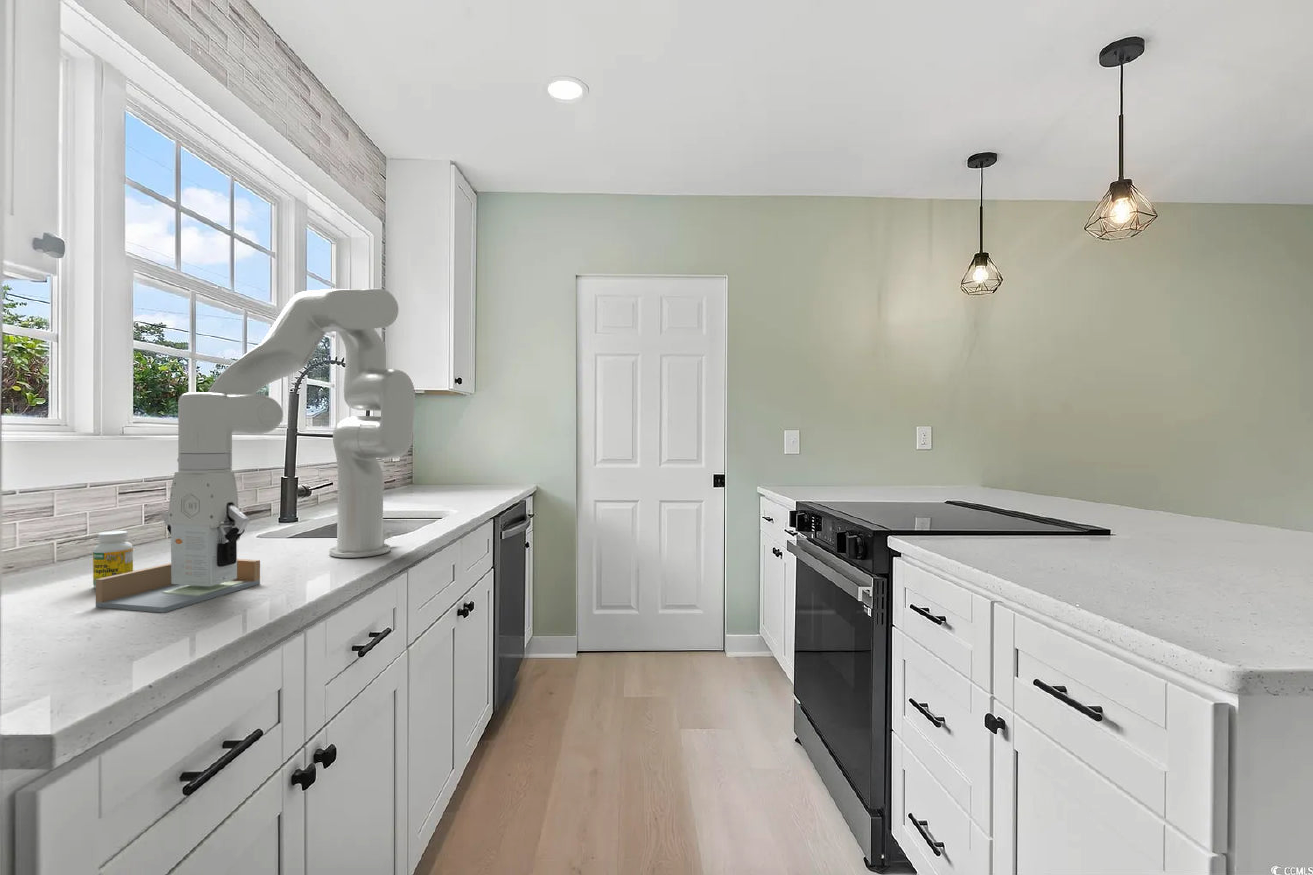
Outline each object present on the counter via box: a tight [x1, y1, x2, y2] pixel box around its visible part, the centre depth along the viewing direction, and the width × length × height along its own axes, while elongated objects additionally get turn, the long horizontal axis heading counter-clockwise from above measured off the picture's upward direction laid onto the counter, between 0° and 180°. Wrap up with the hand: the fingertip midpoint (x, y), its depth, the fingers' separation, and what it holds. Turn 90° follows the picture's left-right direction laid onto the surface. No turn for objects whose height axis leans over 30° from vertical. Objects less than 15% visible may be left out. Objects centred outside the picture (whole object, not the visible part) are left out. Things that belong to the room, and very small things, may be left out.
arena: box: [95, 558, 261, 613], centre depth 104 cm, size 18×13×4 cm
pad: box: [162, 581, 244, 596], centre depth 105 cm, size 9×7×1 cm
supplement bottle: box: [92, 530, 134, 589], centre depth 109 cm, size 5×5×10 cm
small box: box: [170, 521, 238, 587], centre depth 105 cm, size 8×6×10 cm
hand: (205, 563), depth 106 cm, fingers closed on small box, 8 cm apart
